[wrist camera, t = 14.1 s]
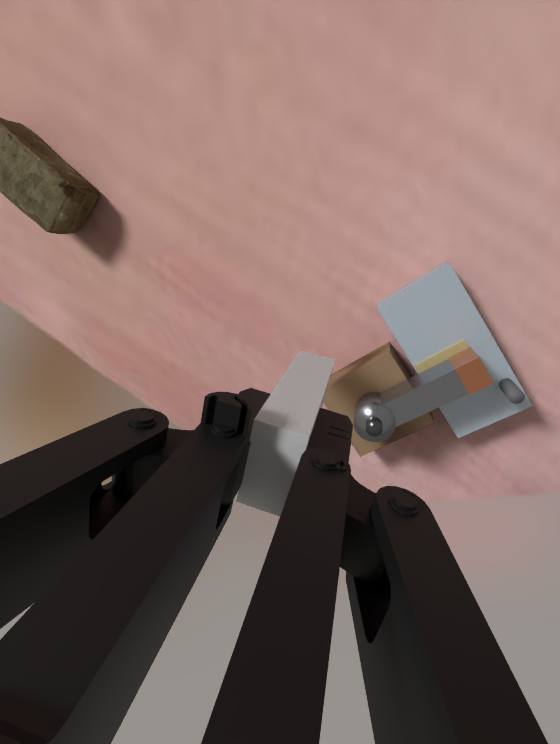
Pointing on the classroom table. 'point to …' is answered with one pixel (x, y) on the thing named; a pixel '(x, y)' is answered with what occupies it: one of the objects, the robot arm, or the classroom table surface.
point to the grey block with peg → (452, 345)
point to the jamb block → (365, 377)
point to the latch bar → (419, 395)
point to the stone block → (42, 181)
